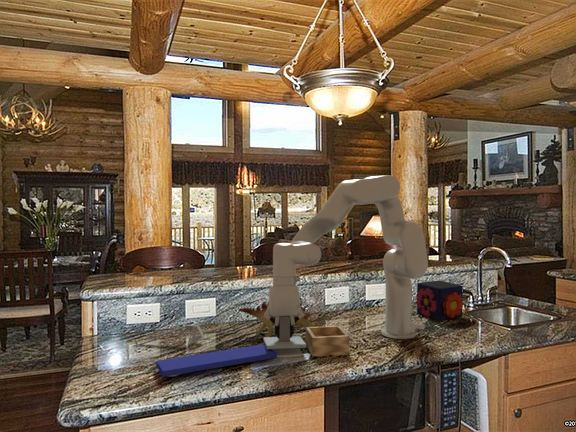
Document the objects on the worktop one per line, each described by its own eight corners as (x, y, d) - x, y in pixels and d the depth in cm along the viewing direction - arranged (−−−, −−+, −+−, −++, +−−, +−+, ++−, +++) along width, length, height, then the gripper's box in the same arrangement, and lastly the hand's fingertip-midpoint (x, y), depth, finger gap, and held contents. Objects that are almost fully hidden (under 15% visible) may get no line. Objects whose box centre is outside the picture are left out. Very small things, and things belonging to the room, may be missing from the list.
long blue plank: (156, 371, 129) (163, 380, 120) (155, 360, 129) (162, 369, 120) (264, 350, 145) (277, 357, 136) (263, 341, 145) (276, 347, 136)
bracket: (203, 338, 152) (189, 313, 151) (147, 367, 150) (133, 342, 150) (204, 335, 155) (191, 310, 154) (149, 364, 154) (136, 339, 153)
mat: (297, 345, 150) (297, 344, 150) (302, 356, 140) (302, 354, 140) (268, 347, 148) (268, 345, 148) (271, 357, 138) (271, 355, 138)
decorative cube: (440, 322, 178) (440, 288, 178) (412, 313, 193) (412, 281, 193) (467, 318, 185) (468, 285, 185) (439, 309, 200) (439, 279, 199)
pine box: (339, 342, 153) (339, 325, 153) (349, 354, 141) (349, 336, 141) (305, 344, 151) (305, 327, 151) (312, 356, 139) (312, 337, 139)
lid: (299, 338, 151) (299, 312, 151) (306, 347, 138) (306, 318, 139) (263, 340, 149) (263, 313, 149) (267, 349, 137) (267, 319, 137)
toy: (322, 349, 155) (327, 307, 154) (235, 333, 161) (240, 293, 161) (325, 342, 164) (330, 302, 163) (242, 327, 170) (247, 288, 169)
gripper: (307, 278, 148) (306, 332, 149) (258, 279, 146) (258, 334, 146) (311, 282, 141) (311, 339, 141) (260, 283, 138) (259, 341, 139)
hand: (284, 336), depth 144 cm, fingers closed on lid, 3 cm apart
